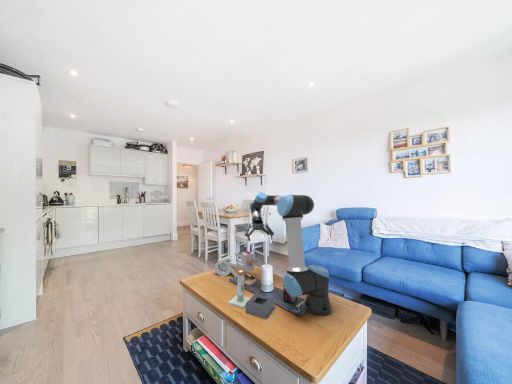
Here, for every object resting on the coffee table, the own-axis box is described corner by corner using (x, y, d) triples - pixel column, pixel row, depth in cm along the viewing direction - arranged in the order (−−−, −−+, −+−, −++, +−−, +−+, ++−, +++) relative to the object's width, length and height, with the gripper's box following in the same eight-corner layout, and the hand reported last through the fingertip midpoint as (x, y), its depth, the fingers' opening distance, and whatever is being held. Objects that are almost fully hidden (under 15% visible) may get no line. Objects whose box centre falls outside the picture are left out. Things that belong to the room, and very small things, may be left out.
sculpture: (237, 276, 167) (242, 259, 166) (235, 280, 160) (240, 261, 160) (215, 269, 169) (220, 252, 168) (212, 273, 162) (218, 254, 162)
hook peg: (247, 299, 125) (248, 269, 125) (242, 304, 120) (242, 272, 120) (238, 296, 128) (239, 267, 128) (232, 301, 122) (233, 270, 122)
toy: (245, 282, 151) (246, 254, 151) (234, 274, 165) (234, 248, 165) (257, 279, 156) (257, 252, 156) (245, 271, 171) (245, 247, 171)
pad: (251, 300, 126) (251, 298, 126) (243, 308, 117) (243, 306, 117) (237, 296, 131) (237, 294, 131) (228, 303, 122) (228, 302, 122)
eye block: (274, 307, 119) (274, 298, 119) (265, 318, 108) (266, 309, 108) (255, 302, 124) (255, 293, 124) (245, 312, 113) (245, 303, 113)
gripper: (272, 221, 159) (277, 246, 144) (239, 222, 154) (242, 247, 140) (274, 215, 154) (280, 240, 139) (240, 215, 149) (243, 241, 134)
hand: (261, 244), depth 139 cm, fingers open, 13 cm apart
